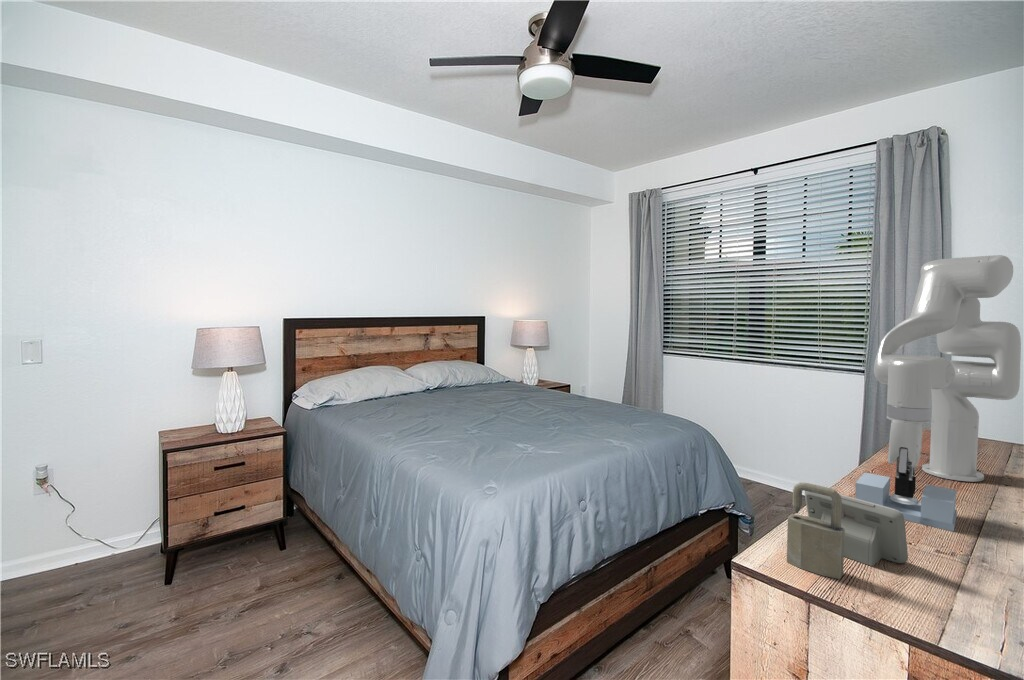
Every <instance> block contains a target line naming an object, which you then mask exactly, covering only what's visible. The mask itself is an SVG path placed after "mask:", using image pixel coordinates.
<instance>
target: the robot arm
mask: <svg viewBox="0 0 1024 680" xmlns="http://www.w3.org/2000/svg"><path fill="white" fill-rule="evenodd" d="M919 273H920V278H919V281H918V287H917V290H916V293H915V297H914V301H913V305H912V307H911V308H912V309H911V312H910V313H911V314H910V316H909V317H908V318H906V319H904V320H903V321H901V322H899V323H898V324H897V325H895V326H894V327H893V328H891V329H890V330H889V331H888V332H887V333H885V335H884V336H883V337H882V339H881V341H880V342H879V345H878V348H877V353H876V356H875V360H874V364H873V374H874V377H875V379H876V381H878V382H879V383H881V384H883V385H887V391H886V392H887V394H886V395H887V396H886V419H887V420H890V422H891V423H890V430H889V440H888V441H889V443H888V453H887V454H888V455H887V463H888V464H889V465H893V464H895V463H896V465H895V467H896V468H895V469H896V471H895V477H894V478H895V479H894V480H895V481H894V493H895V494H896V495H899V496H903V497H908V498H913V497H914V495H915V494H916V482H917V481H916V478H917V477H916V476H915V474H916V467H918V464H919V462H920V458H921V454H922V443H923V430H924V429H923V428H924V427H923V426H924V425H926V424H930V426H931V427H930V442H929V443H930V444H929V445H930V449H929V463H924V464H922V465H921V470H922V471H924V472H925V473H927V474H928V475H932V476H935V477H938V478H943V479H947V480H951V481H953V480H954V481H958V482H968V483H969V482H970V483H971V482H972V483H973V482H977V483H978V482H982V481H984V480H985V475H984V474H983V473H982V472H980V471H977V463H978V446H979V445H978V443H979V425H980V424H979V423H980V414H979V412H978V409H977V408H976V406H975V405H974V404H973V403H972V402H971V401H970V400H969V399H968V398H978V399H985V400H986V399H988V400H996V401H999V400H1000V401H1009V400H1013V399H1014V398H1016V397H1017V395H1018V393H1019V391H1020V383H1021V360H1022V359H1021V354H1022V353H1021V351H1022V342H1021V341H1022V337H1021V332H1020V330H1019V328H1018V327H1017V325H1015V324H1014V323H1011V322H1006V321H983V320H981V303H980V299H989V298H995V297H996V296H998V295H1000V293H1002V292H1003V291H1004V290H1005V289H1006V288H1007V287H1008V286H1009V285H1010V283H1011V281H1012V279H1013V277H1014V276H1013V275H1014V265H1013V262H1012V260H1011V259H1010V258H1009V257H1008V256H1007V255H1006V256H1005V255H999V254H997V255H983V256H982V255H981V256H967V257H966V256H964V257H951V258H949V257H948V258H940V259H935V260H931V261H927V262H925V263H924V264H923V265H921V268H920V272H919ZM934 335H936V344H937V346H936V347H937V349H938V352H940V353H942V354H943V355H946V356H950V357H966V358H983V359H984V358H985V359H986V358H987V359H991V360H992V361H993V362H983V361H982V362H981V361H971V360H970V361H969V360H948V359H947V358H944V357H941V356H933V355H918V354H901V353H899V354H898V353H897V352H898V351H899V350H900V349H901V348H902V347H904V346H906V345H907V344H910V343H912V342H914V341H917V340H921V339H925V338H927V337H931V336H934ZM907 464H908V465H907ZM909 465H910V466H909ZM907 469H909V470H907Z"/></svg>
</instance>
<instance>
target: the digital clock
mask: <svg viewBox="0 0 1024 680" xmlns="http://www.w3.org/2000/svg"><path fill="white" fill-rule="evenodd" d="M839 494H840V495H841V500H842V511H841V527H844V528H845V535H844V558H846V559H850V560H852V561H856V562H858V563H861V564H864V565H867V566H868V567H869V566H870V567H873V566H875V565H876V564H877V563H878V562H879V561H881V560H882V559H884V560H887V561H889V562H893V563H895V564H896V563H897V564H905V563H907V562H908V559H909V553H908V552H909V551H908V543H907V531H906V522H905V521H906V520H904V516H903V514H902V513H901V512H900V511H898V510H896V509H893V508H889V507H886V506H882V505H879V504H875V503H871V502H867V501H864V500H860V499H856V498H855V497H852V496H848V495H845V494H841V493H839ZM804 497H805V498H804V499H805V505H806V511H807V516H808V517H812V518H816V519H819V520H823V521H827V522H830V523H831V511H832V498H831V497H830V496H826V495H821V494H817V493H813V492H808V491H804Z"/></svg>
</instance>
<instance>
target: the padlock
mask: <svg viewBox="0 0 1024 680" xmlns="http://www.w3.org/2000/svg"><path fill="white" fill-rule="evenodd" d="M803 491H804V492H805V491H808V492H813V493H817V494H821V495H826V496H830V497H831V498H832V511H831V523H830V522H827V521H823V520H819V519H816V518H812V517H808V515H803V514H802V515H800V514H799V512H800V510H801V508H802V505H803V499H802V498H803ZM840 494H841V493H839V492H838V491H836V490H835V489H833V488H831V487H827V486H824V485H817V484H813V483H809V482H801V481H800V482H798V483H795V484H794V486H793V488H792V507H793V510H794V513H790V515H789V516H788V517H787V530H786V531H787V533H786V536H787V540H786V562H787V563H789V564H791V565H793V566H795V567H797V568H799V569H802V570H805V571H808V572H810V573H814V574H816V575H819V576H822V577H828V578H832V579H838V580H841V579H842V576H843V575H844V560H845V559H844V558H845V557H844V535H845V528H844V527H841V511H842V500H841V495H842V494H841V495H840Z"/></svg>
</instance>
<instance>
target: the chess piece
mask: <svg viewBox="0 0 1024 680" xmlns="http://www.w3.org/2000/svg"><path fill="white" fill-rule="evenodd" d="M907 465H908V464H907ZM909 466H910V465H909ZM907 470H909V469H907ZM890 496H891V497H890V498H891V499H892V500H893V501H895V502H898V503H902V504H908V505H917V504H918V502H919V499H918V498H917V497H915V496H913V498H908V497H903V496H899V495H896V494H895V492H894V493H891V494H890Z"/></svg>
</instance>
